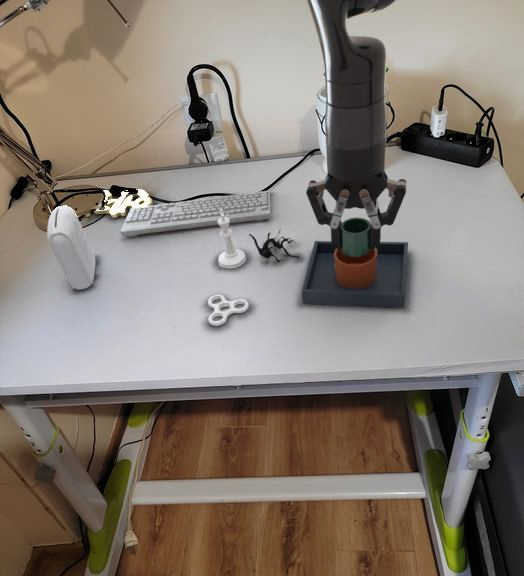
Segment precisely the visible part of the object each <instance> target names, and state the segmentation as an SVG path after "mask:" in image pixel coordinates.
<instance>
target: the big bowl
mask: <svg viewBox="0 0 524 576" xmlns="http://www.w3.org/2000/svg"><path fill="white" fill-rule="evenodd" d="M377 255H378V251H377V249H376V247H375V250H372V249H370V251H369V252H368V253H367V254H366V255H364V256H360V257H350V256H347V255H345V254H343V252H342V251H341V249H335V252H334V269H335V279H336V281H337V283H338V284H339V285H341V286H343V287H345V288H349V289H361V288H365V287H368V286H370V285H371V284H372V283H373V282H374V281H375V280H376V277H377Z"/></svg>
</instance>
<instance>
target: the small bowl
mask: <svg viewBox="0 0 524 576" xmlns="http://www.w3.org/2000/svg"><path fill="white" fill-rule="evenodd" d="M370 229H371V222H370V219H369V220H368V219H366V218H364V217H350V218H348V219H345V220H344V221H342V224H341V227H340V232H341V251H342V252H343V254H345V255H347V256H350V257H360V256H364V255H366V254H367V253H368V252H369V251H370Z"/></svg>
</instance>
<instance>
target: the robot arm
mask: <svg viewBox="0 0 524 576" xmlns="http://www.w3.org/2000/svg"><path fill="white" fill-rule="evenodd" d="M395 2H397V0H306V3H307V6H308V9H309V12H310V15H311V17H312V22H313V24H314V27H315V31H316V34H317V38H318V42H319V46H320V50H321V55H322V61H323V66H324V82H325V83H324V84H325V114H324V124H325V125H324V127H325V129H324V130H325V131H324V132H325V146H326V147H325V148H326V149H325V150H326V151H325V152H326V170H327V171H326V173H327V174H326V176H325V179H324V180H323V179H322V180H320V181H316V180H314V179H311V180H310V181H309V182H308V184H307V188H306V192H305V193H306V197H307V199H308V202H309V204H310V206H311V210H312V212H313V214H314V217H315V220H316V222H317V224H319V225H320V226H324V225H326V226H329V228H330V241H331V243H332V244H333V245H336V249H341V232H340V227H341V224H342V223H343V221H342V217H343V214H344V211H345V210H347V209H349V210H350V209H354V208H356V209H360V210H361V209H362V210H365V213H366V216H367V218H368V219H369V222H370V223H371V229H370V249H372V250H375V246H379V244H380V242H381V239H382V238H381V237H382V236H381V235H382V227H384V226H393V225H394V223H395V221H396V218H397V215H398V214H399V211H400V209H401V206H402V203H403V201H404V198H405V196H406V193H407V180H406V179H405V178H400V179H398V180H394V179H390V178H389V177H388V175H387V173H386V171H385V164H386V163H385V162H386V136H387V127H388V122H387V105H386V76H387V50H386V47H385V45H384V42H383V41H382V40H380V39H379V38H376V37H373V36H366V35H363V36H362V35H349V33H348V30H347V23H346V22H347V20H349V19H353V18H357V17H362V16H367V15H370V14H374V13H380V12H382V11H384V10H387V9H388V8H389V7H391V6H392V5H394V4H395ZM325 190H326V191H327V193H329V195H330V196H331V197H332V198H333V200H334V201H335V204H334V209H333V212H330V211H329V210H328V208H327V205H326V203H325V202H326V201H325V200H324V195H325ZM385 190H388V197H390V200H389V204H388V206H387V209H386V211H384V212H381V209H380V206H379V200H378V198H379V197H380V196H381V194H382V193H383V192H384V191H385Z"/></svg>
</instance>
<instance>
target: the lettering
mask: <svg viewBox="0 0 524 576" xmlns="http://www.w3.org/2000/svg"><path fill="white" fill-rule="evenodd" d="M102 190H103V189H102ZM137 190H138V193H137V194H128V193H129V192H124V191H122V192H120V193H121V194H120V195H121V196H120V197H119V198H118V199H117V198H113V195H112V193H110V191H109V190H107V189H104V190H103V191H104V192H105V195H106V197H105V200H104V202H106V201H108V203H107V205H105V206H104V207H105V209H104V210H98V209H97V210H96V211H94V212H93V214H94V215H110V216H111V217H112V218H114V219H116V218H119V217H126V216H127V212H128V211H129V210H130V209H132V208H135V207H136V208H137V207H142V208H143V206H151V205H153V206H154V202H153V199H152V198H151V197H150V193H147V192H146V191H145V190H144V189H137ZM134 198H137V199H135V200H134ZM91 213H92V212H91ZM91 213H90V214H89V215H87V216H84V217H85V218H88V217H90V216H92V214H91Z"/></svg>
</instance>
